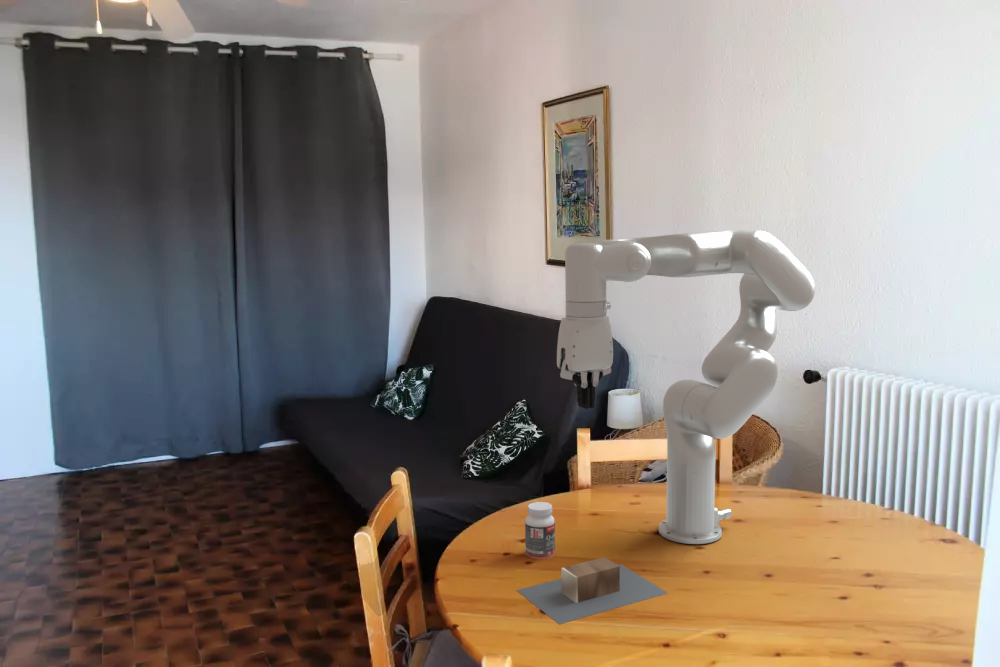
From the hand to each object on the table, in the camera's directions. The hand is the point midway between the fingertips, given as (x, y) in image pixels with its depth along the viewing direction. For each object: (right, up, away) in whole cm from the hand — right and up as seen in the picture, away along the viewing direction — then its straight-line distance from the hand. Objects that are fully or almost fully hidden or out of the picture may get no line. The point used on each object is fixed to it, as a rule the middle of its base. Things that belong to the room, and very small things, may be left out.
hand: (586, 406), depth 158 cm
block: (-5, -29, -16) cm, 33 cm away
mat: (0, -31, -13) cm, 34 cm away
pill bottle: (-8, -29, +4) cm, 31 cm away
